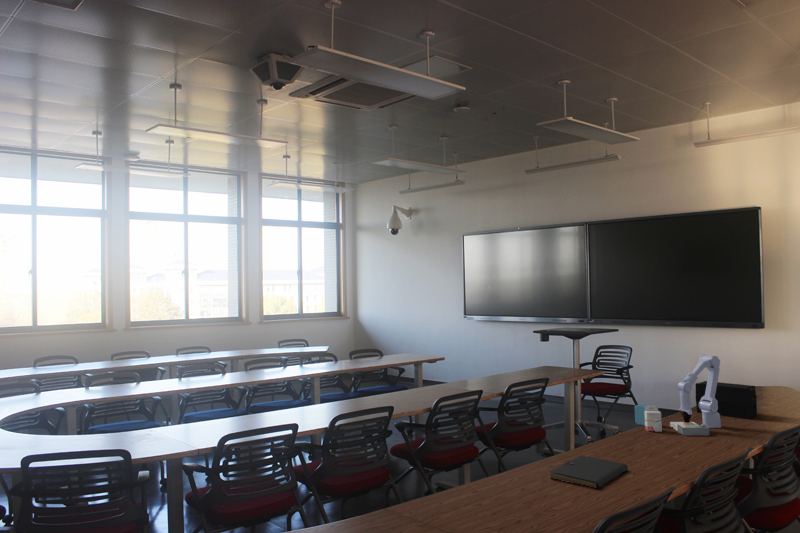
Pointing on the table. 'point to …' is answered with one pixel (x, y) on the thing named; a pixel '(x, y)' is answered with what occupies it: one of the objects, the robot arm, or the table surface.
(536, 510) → the table surface
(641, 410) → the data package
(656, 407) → the ink cartridge box
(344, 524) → the table surface
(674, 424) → the ledge board
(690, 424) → the terracotta tile
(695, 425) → the green tile
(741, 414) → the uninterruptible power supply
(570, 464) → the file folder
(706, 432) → the bin
